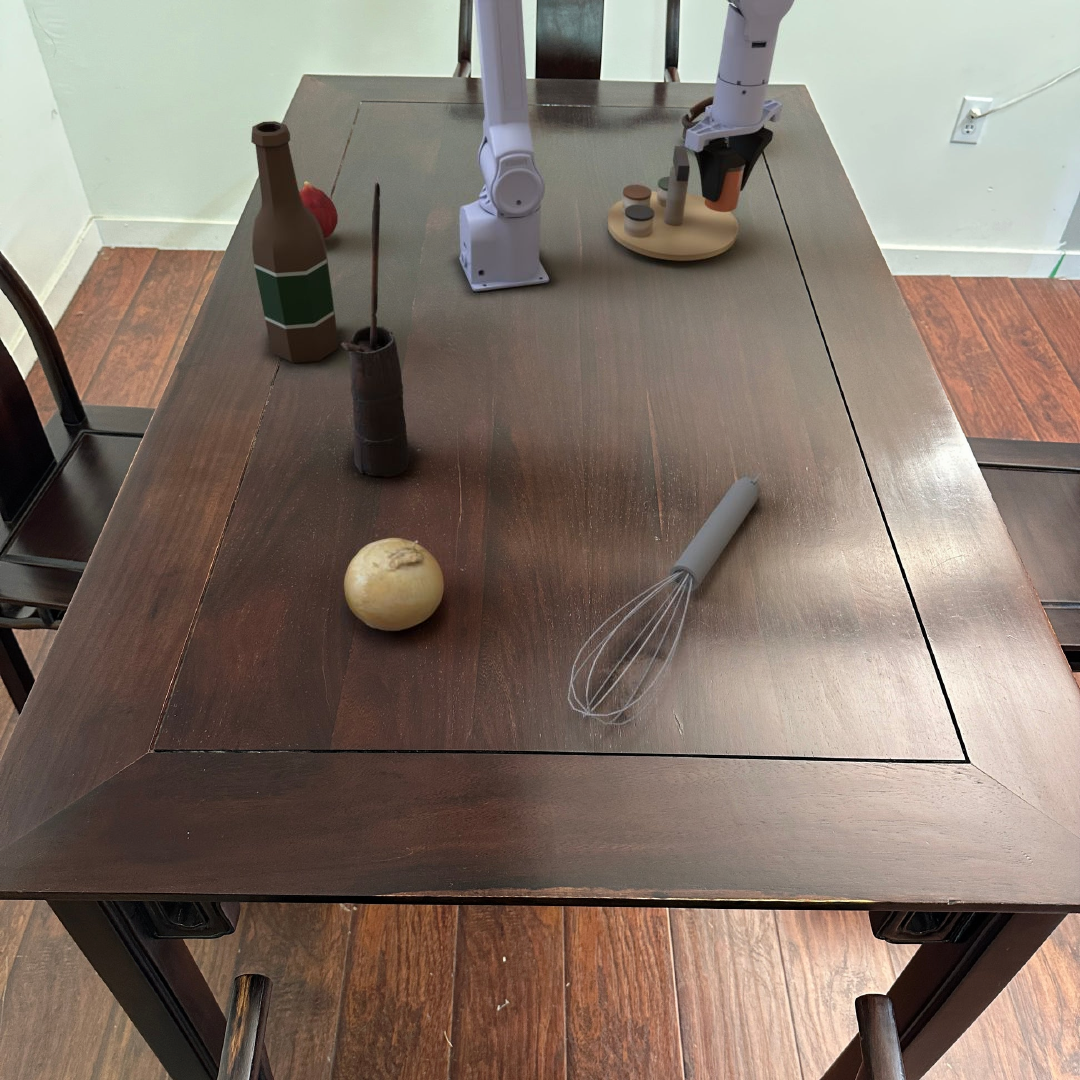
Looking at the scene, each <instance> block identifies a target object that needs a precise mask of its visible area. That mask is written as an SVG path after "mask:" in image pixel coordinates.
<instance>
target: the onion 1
mask: <svg viewBox="0 0 1080 1080" xmlns="http://www.w3.org/2000/svg"><path fill="white" fill-rule="evenodd" d="M299 193H300V195H301V198H302V201H303V204H304V205H305V206H306V207H307V208H308V209H309V210H310V211H311V212H312V213H313V214H314V215H315V217H316V219H317V221H318V222H319V224H320V226H321V228H322V231H323V236H324V241H325V240H326V239H328V238H329V237H331V235H333V234H334V232H335V230H336V227H337V225H338V223H339V222H338V220H339V217H338V215H339V214H338V213H337V208H336V205H335V204H334V202H333V200H332V199H331V198H330V197H329V196H328V195H327V194H326V193H325V192H324V190H323V191H322V190H321V189H319V188H317V187H315V186H314V185H312V184H311V183H310V182H309V181H307V180H305V181H303V188H302V189H301V190H299Z"/></svg>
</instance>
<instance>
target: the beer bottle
mask: <svg viewBox="0 0 1080 1080" xmlns="http://www.w3.org/2000/svg"><path fill="white" fill-rule="evenodd" d="M290 141H291V132H290V130H289V128H288V125H287V124H285V123H282V122H279V121H275V120H273V121H271V120H270V121H262V122H259V123H257V124H255V125H253V126H252V127H251V143H252V144H253V145H254V146H255V155H256V162H257V169H258V170H257V171H258V178H259V187H260V188H259V189H260V194H261V195H260V196H261V207H260V208H259V211H258V213H257V215H256V217H255V218H254V223H253V228H252V241H251V247H252V248H251V250H252V257H253V265H254V270H255V275H256V281H257V286H258V291H259V295H260V301H261V305H262V310H263V316H264V320H265V321H264V322H265V326H266V331H267V336H268V341H269V344H270V347H271V352H272V353H273V354H274V355H276V356H278V357H280V358H281V359H284V360H286V361H289V362H290V363H292V364H297V363H309V362H320V361H322V359H324V358H326V357H328V355H330V354H331V353H333V352H335V351H336V350H337V349H338V346H339V345H338V333H337V332H338V331H337V319H336V311H335V303H334V298H333V289H332V282H331V275H330V269H329V261H328V254H327V246H326V245H327V244H326V241H325V240H324V236H323V231H322V228H321V226H320V224H319V222H318V221H317V219H316V217H315V215H314V214H313V213H312V212H311V211H310V210H309V209H308V208H307V207H306V206H305V205H304V204H303V201H302V198H301V195H300V193H299V192H300V190H299V186H298V180H297V176H296V171H295V167H294V162H293V158H292V153H291V149H290V144H289V143H290Z"/></svg>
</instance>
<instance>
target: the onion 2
mask: <svg viewBox="0 0 1080 1080" xmlns="http://www.w3.org/2000/svg"><path fill="white" fill-rule="evenodd" d="M418 543H419V541H418V539H417V540H414V541H411V540H408V539H406V538H401V537H388V538H383V539H380V540H376V541H373V542H370V543H368V544H366V545H365V546H363V547H362V548H361V549H360V550H359V551H358V552H357V553H356V555H354V557H352V559H351V560H350V562H349V564H348V566H347V569H346V572H345V574H344V580H343V581H344V582H343V589H344V596H345V600H346V602H347V605H348V607H349V609H350V610H351V612H352V614H354V615H355V616H356V617H357V618H358V619H359V620H361V622H363V623H365V625H366V626H368V627H370V628H371V629H375V630H376V629H377V630H381V631H386V632H398V631H399V632H400V631H402V630H407V629H410V628H412V627H415V626H417V625H419V624H421V623H423V622H424V621H427V620H428V618H430V617H431V616H432V615H433V614H434V612H435V611H436V609H438V607H439V605H440V603H441V601H442V598H443V595H444V589H445V585H444V583H445V581H444V575H443V572H442V569H441V566H440V565H439V563H438V561H437V560H436V558H435V557H434V556H433V555H432V554H431V553H430V552H429V551H428V550H427V549H426V548H425V547H423V546H422V545H420V544H418Z"/></svg>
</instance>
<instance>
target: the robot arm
mask: <svg viewBox="0 0 1080 1080" xmlns="http://www.w3.org/2000/svg"><path fill="white" fill-rule="evenodd" d="M473 1H474V12H475V22H476V23H475V25H476V33H477V45H478V46H477V47H478V56H479V66H480V75H481V76H480V79H481V89H482V98H483V99H482V100H483V109H484V110H483V111H484V118H483V121H482V128H483V130H482V131H483V137H482V140H481V143H480V146H479V148H478V153H477V163H478V167H479V169H480V171H481V173H482V175H483V177H484V181H485V183H484V184H483V187H482V189H481V192H480V193H479V196H478V198H479V199H477V200H476V201H473V202H471V203H468V204H465V205H462V206H460V208H459V216H458V217H459V218H458V219H459V249H460V251H459V252H460V256H459V261H460V264H461V267H462V268H463V271H464V274H465V276H466V278H467V280H468V282H469V285H470V287H471V289H472V291H473V292H483V291H492V290H498V289H506V288H514V287H522V286H531V285H538V284H539V285H541V284H545V283H546V284H547V283H548V282H549V281H550V277H549V276H548V274H547V272H546V270H545V268H544V266H543V265H542V263H541V261H540V243H541V242H540V241H541V217H542V216H541V213H542V212H541V211H542V201H543V199H544V196H545V192H546V191H545V190H546V183H545V179H544V176H543V175H542V173H541V171H540V169H539V168H538V166H537V163H536V157H535V156H536V155H535V145H534V142H533V136H532V130H531V126H530V113H529V99H528V98H529V97H528V96H529V95H528V82H527V80H528V79H527V64H526V63H527V62H526V49H525V47H526V45H525V32H524V14H523V0H473ZM726 1H727V2H728V3H729V4H728V6H727V14H726V19H725V25H724V30H723V35H722V36H723V37H722V43H721V48H720V49H721V50H720V54H719V55H720V57H719V63H718V69H717V75H716V81H715V88H714V94H713V96H714V99H713V105H710V106H707V107H706V110H705V112H704V114H705V116H704V117H703V118H702V119H700V120H701V121H700V122H699V123H698V124H697V125H695V126H694V127H692V128H690V129H688V130H687V133H686V140H685V139H684V140H685V141H684V146H685V147H686V149H688V150H691V151H693V153H694V156H695V159H696V162H697V167H698V170H699V177H700V188H701V197H703V198H706V199H708V200H710V201H712V202H717V201H718V200H719V198H720V195H721V192H722V189H723V185H724V180H725V177H726V174H727V171H728V169H729V166H730V164H731V162H732V160H733V159H734V157H735V155H739V156H741V157H742V158H744V159H745V161H746V164H745V168H744V173H743V178H742V183H741V189H740V192H741V191H743V190H745V186H746V185H747V182H748V180H749V178H750V176H751V173H752V172H753V170H754V167H755V165H756V163H757V161H758V160H759V158H760V156H761V155H762V154H763V152H764V151H765V150H766V148H767V147H768V146H769V144H770V143H771V142H772V141H773V138H774V131H772V130H771V129H769V128H766V127H765V125H766V124H767V123H768V122H771V123H776V122H779V121H780V120H781V116H782V115H781V114H782V110H783V103H781V102H778V101H776V100H774V99H771V98H769V99H766V96H767V92H768V86H769V81H770V76H771V71H772V65H773V60H774V55H775V50H776V44H777V40H778V33H779V29H780V24H781V22H782V21H783V18H784V17H785V16H787V14H788V13H789V11H790V10H791V9H792V7H793V5H794V2H795V0H726ZM726 138H727V139H728V140H727V141H728V142H726Z"/></svg>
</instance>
